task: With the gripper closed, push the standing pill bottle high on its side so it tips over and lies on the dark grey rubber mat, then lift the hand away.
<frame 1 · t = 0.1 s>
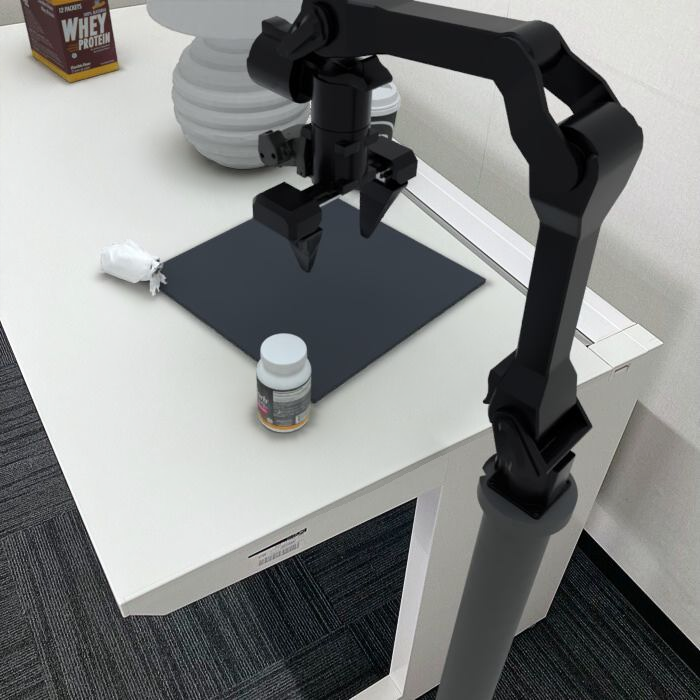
hand: (336, 253, 86), 13 cm above the table, tool pointing down, fingers open, 9 cm apart
coffee cup: (364, 180, 124), on the table
white pouch: (134, 279, 103), on the table, touching mat
mat: (315, 279, 105), on the table
table lamp: (245, 153, 129), on the table
supplement box: (76, 64, 152), on the table
pill bottle: (284, 416, 87), on the table
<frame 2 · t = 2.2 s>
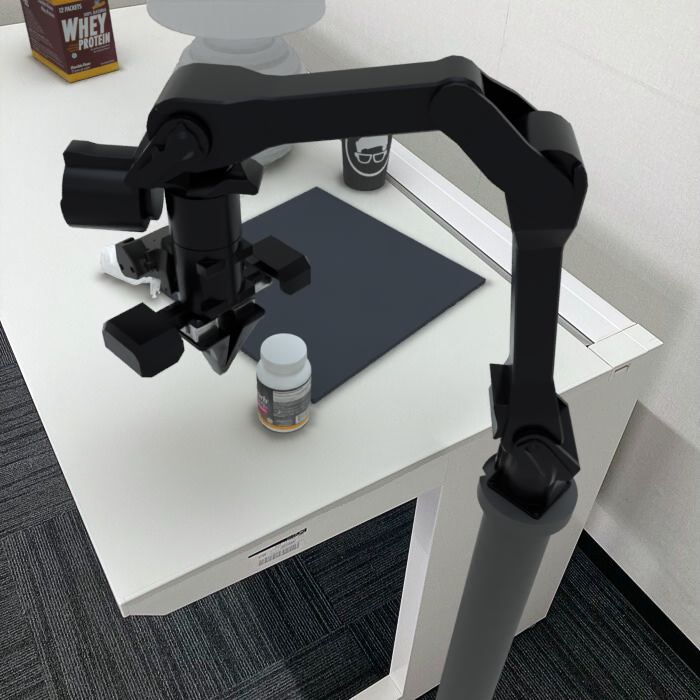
hand: (219, 371, 74), 12 cm above the table, tool pointing down, fingers closed
white pouch: (134, 279, 103), on the table, touching mat
everything else where it was.
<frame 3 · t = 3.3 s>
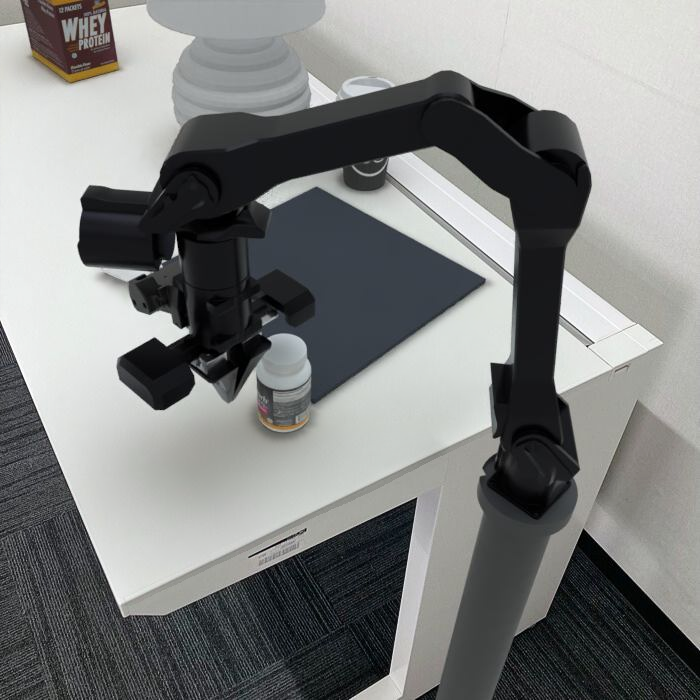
hand: (228, 399, 77), 8 cm above the table, tool pointing down, fingers closed
nothing on the table moved.
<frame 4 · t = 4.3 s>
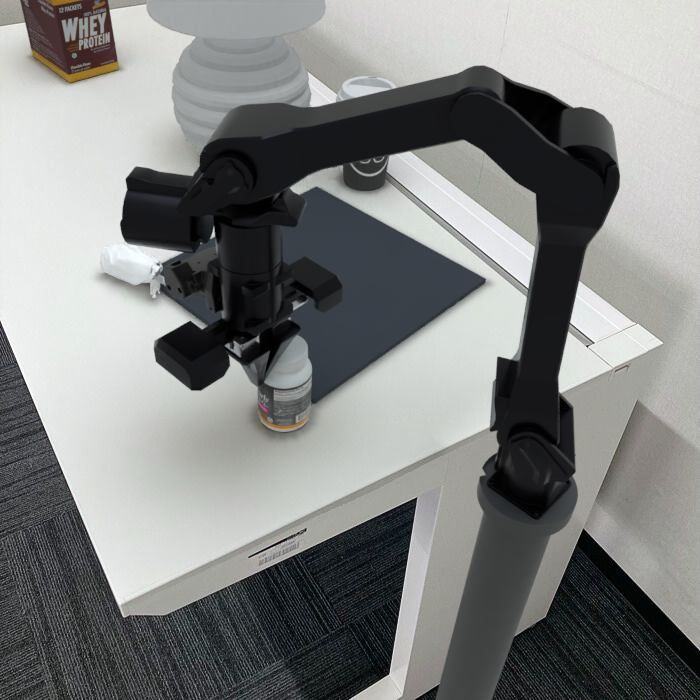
hand: (256, 383, 79), 8 cm above the table, tool pointing down, fingers closed
pill bottle: (284, 416, 86), on the table, touching gripper
everything else where it was.
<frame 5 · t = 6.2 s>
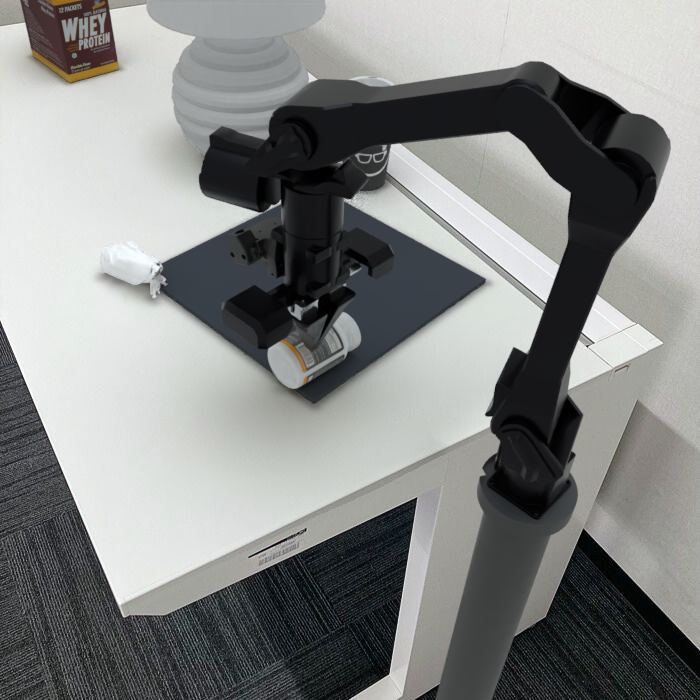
hand: (311, 347, 84), 7 cm above the table, tool pointing down, fingers closed
pill bottle: (280, 368, 87), point 3 cm above the table, touching mat
everything else where it was.
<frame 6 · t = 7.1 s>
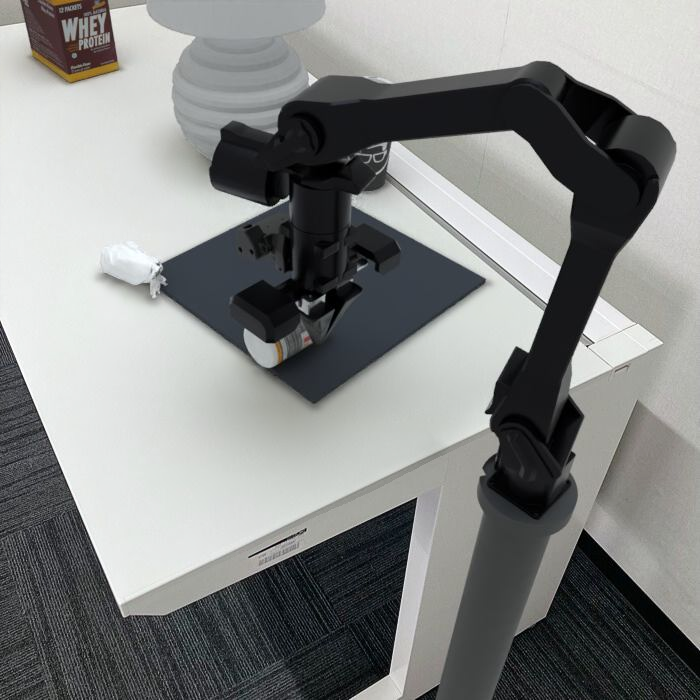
hand: (317, 342, 84), 8 cm above the table, tool pointing down, fingers closed
pill bottle: (255, 347, 89), point 3 cm above the table, touching mat
everything else where it was.
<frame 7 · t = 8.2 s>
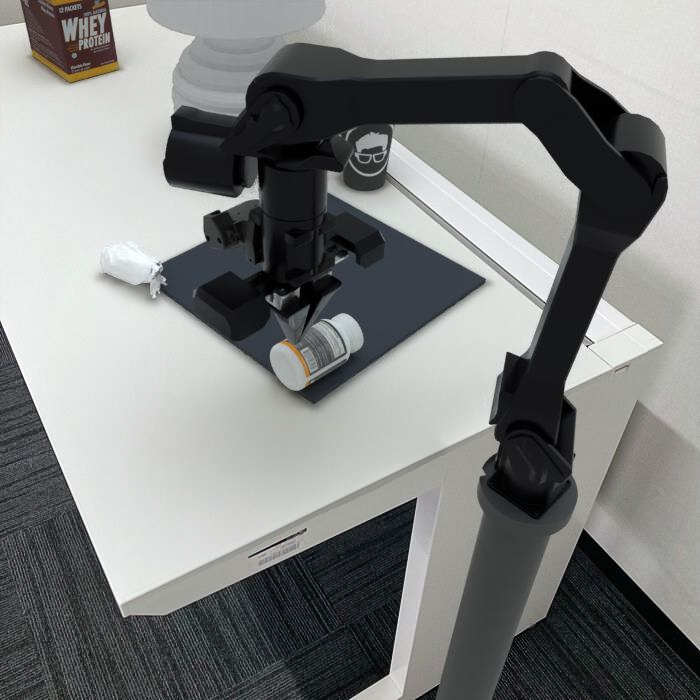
hand: (294, 341, 77), 12 cm above the table, tool pointing down, fingers closed
pill bottle: (282, 370, 87), point 3 cm above the table, touching mat
everything else where it was.
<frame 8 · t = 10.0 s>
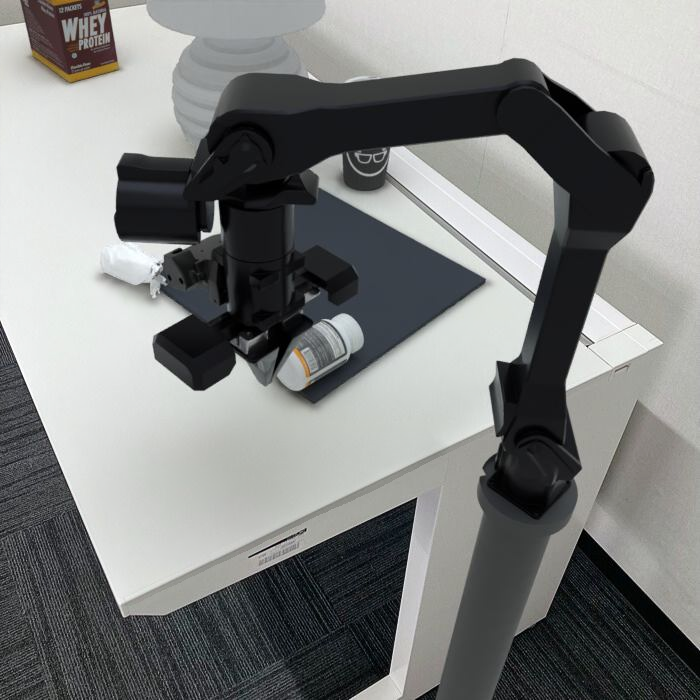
hand: (264, 382, 73), 12 cm above the table, tool pointing down, fingers closed
nothing on the table moved.
at the end: pill bottle tilted 91°; pill bottle touching mat; the gripper is holding nothing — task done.
